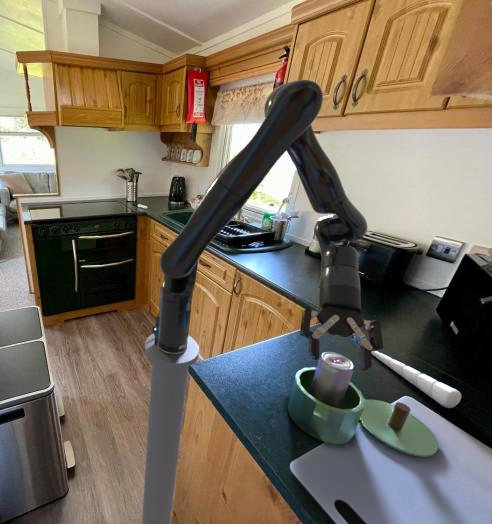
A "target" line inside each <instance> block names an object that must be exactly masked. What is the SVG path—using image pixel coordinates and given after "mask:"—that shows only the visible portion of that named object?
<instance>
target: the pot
mask: <svg viewBox="0 0 492 524" xmlns="http://www.w3.org/2000/svg"><path fill="white" fill-rule="evenodd" d="M316 369H317V367H304V368H302V369H300V370H298V371H297V372H296V374H295V377H294V380H293V384H292V386H291V391H290V394H289V398H288V401H287V412H288V415H289V416H290V418H291V420H292V422H294V423H295V425H296V426H297V427H298V428H299V429H301V430H302V431H303V432H304V433H306V434H307V435H309V436H311V437H312V438H314V439H316V440H318V441H321V442H324V443H326V444H330V445H331V444H332V445H343V444H346V443H348V442H350V441H351V440H352V439H353V437H354V435H355V433H356V429H357V428H358V425H359V422H360V417H361V415H362V412H363V410H364V406H365V400H366V398H365V397H364V395H363V393H362V392H361V390H360V389H359V388H358V387H357V386H356V385H355V384H354V383H352V381H350V382H349V385H348V388H347V391H346V393H345V396H344V399H343V402H342V405H341V407H340V409H339V408H335V407H331V406H329V405H326V404H324V403H322V402H320V401H318V400H317V399H315V398H314V397H313V396H311V395H310V394H309V392H310V388H311V385H312V382H313V379H314V375H315V372H316Z"/></svg>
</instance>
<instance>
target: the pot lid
mask: <svg viewBox="0 0 492 524" xmlns="http://www.w3.org/2000/svg"><path fill="white" fill-rule="evenodd" d="M410 412H411V408H410V407H409V405H407V404H405V403H403V402H399V401H398V402H395V404H392V403H389V402H386V401H382V400H378V399H365V406H364V410H363V412H362V415H361V417H360V420H359V422H360V423H361V424H362V426H363V427H364V428H365V429H366V430H367V431H368V432H369V433H370V434H372V435H373V436H374V437H375V438H376V439H377V440H379V441H381V442H382V443H383V444H385V445H387V446H389V447H391V448H393V449H395V450H397V451H399V452H401V453H403V454H406V455H409V456H414V457H421V458H425V457H426V458H428V457H432V456H434V455H435V454H436V453H437V452H438V450H439V442H438V439H437V437H436V435H435V434H434V433H433V431H432V430H431V429H430V428H429V427H428V426H427V425H426V424H425V423H424V422H422V421H421V419H419V418H417V417H416V416H415V415H413V414H412V413H410Z"/></svg>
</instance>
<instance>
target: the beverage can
mask: <svg viewBox="0 0 492 524" xmlns="http://www.w3.org/2000/svg"><path fill="white" fill-rule="evenodd" d="M316 368H317V369H316V372H315V375H314V379H313V382H312V385H311V388H310V392H309V394H310V395H311V396H313V397H314V398H315V399H317V400H318V401H320V402H322V403H324V404H326V405H329V406H331V407H335V408H339V409H340V407H341V405H342V402H343V399H344V396H345V393H346V391H347V388H348V385H349V382H351V379H352V376H353V374H354V363H353V362H352V361H351V359H349V358H348V357H346V356H345V355H342V354H341V353H338V352H333V351H325V352H323V353H322V354H321V355H320V356H319V359H318V362H317V365H316Z"/></svg>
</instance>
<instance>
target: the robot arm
mask: <svg viewBox="0 0 492 524" xmlns="http://www.w3.org/2000/svg"><path fill="white" fill-rule="evenodd" d="M323 101H324V93H323V90H322V88H321V86H320V85H319V83H317V82H316V81H313V80H311V79H310V80H309V79H298V80H293V81H289V82H286V83H283V84H281V85H278V86H277V87H276V88H274V89H273V90H272V91H271V93H270V94H269V96H268V97H266V101H265V104H264V108H263V109H264V110H263V112H264V113H263V114H264V119H263V122H262V123H261V125H260V126H259V128H258V129H257V130H256V132H255V134H254V135H253V136H252V138H251V139H250V141H249V142H248V143H247V144H246V145H245V146H244V147H243V148H242V149H241V150H240V151H239V152H238V153H237V154H236V155H235V156H234V157H233V158H231V159H230V160H229V161H228V162H227V164H225V166H224V167H222V168H221V170H220V171H219V172H218V174H217V175H216V176H215V178H214V179H213V181H212V182H211V183H210V185H209V187H208V188H207V190H206V191H205V192H204V194H203V195H202V196H201V198H200V201H199V202H198V204H197V205H196V207H195V209H194V210H193V212H192V214H191V216H190V217H189V219H188V221H187V223H186V224H185V226H184V227H183V229H182V230H181V231H180V232H179V234H178V235H177V236H175V238H174V239H173V240H172V242H171V243H169V245H167V247H166V248H165V249H164V250H163V251H162V253H161V255H160V258H159V267H160V270H161V272H162V274H163V280H162V283H161V286H160V297H159V312H158V313H159V314H158V315H157V316H156V317H155V324H154V325H152V329H151V330H152V333H151V334H153V333H154V335H155V342H154V344H155V345H157V347H158V349H159V350H160V351H162V352H163V353H165V354H169V355H180V354H182V353H184V352H185V351H186V350H187V344H188V335H189V334H190V333H189V332H190V324H191V315H192V305H193V297H194V291H195V287H196V280H197V273H198V265H199V259H200V258H201V256H202V255H203V253H204V251H205V250H206V248H207V247H208V246H209V244H210V243H211V242H212V241H213V240H214V239H215V238H216V237H217V236H218V235H219V234H220V233H221V232H222V231H223V230H224V229H225V228H226V227H227V226H228V224H229V223H230V222H231V221H232V220H233V219H234V217H236V216H237V214H238V213H239V212H240V211H241V209H242V208H243V207H244V206H245V205H246V203H247V202H248V201H249V200H250V198H251V197H252V195H253V194H254V192H255V191H256V190H257V189H258V187H259V186H260V185H261V183H262V182H263V181H264V179H265V178H266V177H267V175H268V174H269V173H270V171H271V170H272V169H273V167H274V166H275V165H276V163H277V162H278V161H279V159H280V158H281V157H282V156H283V155H284V154H285V153H286V152H287V155H288V156H289V159H290V160H291V162H292V163H293V167H294V168H295V171H296V173H297V175H298V177H299V180H300V182H301V184H302V187H303V189H304V192H305V194H306V196H307V199H308V201H309V204H310V206H311V208H312V210H313V211H314V212H315V213H317V214H321V215H323V214H324V215H327V214H328V216H323V217H320V218H319V219H318V220H316V223H315V225H314V227H313V232H314V235H315V238H316V240H317V243H318V246H319V250H320V255H321V269H320V277H319V285H318V289H319V293H318V294H319V295H318V296H319V297H318V310H313V309H312V308H311V307H309V306H308V307H306V308H304V309H303V310H302V312H301V320H300V329H299V335H300V336H301V337H304V338H306V339H307V340H308V341H309V342H308V343H309V344H308V354H309V356H311V360H315V361H317V360H319V359H320V339H319V338H321V336H322V335H323V334H325V333H326V332H327V333H328V334H329V335H332V336H339V337H343V338H347V337H348V338H349V339H350V340H351V342H352V343H353V344H355V346H357V347H358V349H359V351H358V365H359V366H358V367H359V371H363V372H366V371H368V370H370V369H371V368H372V367H373V363H372V362H373V359H372V354H371V352H372V351H377V352H378V351H380V350H383V349H384V342H383V335H382V333H383V332H382V326H381V322H380V321H379V319H373V320H368V319H363V316H362V297H361V296H362V295H361V291H362V290H361V278H360V274H359V253H358V251H357V249H356V248H355V247H352V246H351V245H345V244H343V243H348V242H354V241H358V240H361V239H363V238H364V237H365V236H366V235H367V233H368V222H367V220H366V218H365V216H364V215H363V214H362V212H361V211H360V210H359V209H358V208H357V207H356V206H355V205H354V204H353V202H352V201H351V200H350V198H349V197H348V196H347V194H346V191H345V189H344V186H343V183H342V181H341V178H340V175H339V174H338V171H337V169H336V167H335V166H334V164H333V162H332V161H331V159H330V158H329V156H328V155H327V154H326V152H325V150H324V149H323V148H322V145H321V144H320V142H319V140H318V139H317V137H316V134H315V132H314V129H313V126H312V124H313V123H314V122H315V120H316V119H317V118H318V115H319V114H320V113H321V109H322V106H323ZM315 318H316V319H317V320H318V322H319V323H320V326H319V327H317V329H316V330H315V331H314V332H313V331H311V329H310V328H311V321H313V320H314V319H315ZM362 327H364V328H365V331H367V333H368V339H367V336H366V334H365V333H364V332H363V331H362V329H361V328H362Z"/></svg>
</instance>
